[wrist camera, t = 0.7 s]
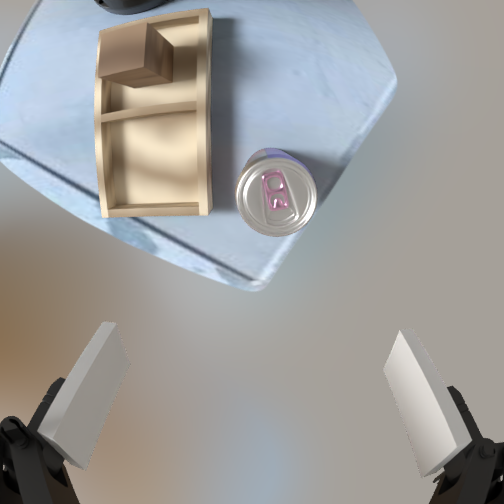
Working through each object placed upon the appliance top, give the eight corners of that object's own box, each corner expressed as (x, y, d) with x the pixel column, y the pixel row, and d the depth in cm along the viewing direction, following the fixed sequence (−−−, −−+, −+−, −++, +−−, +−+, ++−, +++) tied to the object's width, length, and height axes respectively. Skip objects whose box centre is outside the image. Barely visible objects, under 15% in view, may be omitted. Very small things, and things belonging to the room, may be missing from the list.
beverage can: (289, 143, 31) (311, 147, 18) (299, 191, 34) (326, 230, 20) (239, 153, 32) (224, 166, 18) (251, 201, 34) (245, 247, 20)
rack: (111, 37, 25) (99, 31, 22) (212, 18, 25) (208, 8, 22) (113, 210, 35) (102, 217, 32) (212, 208, 35) (208, 215, 32)
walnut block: (136, 53, 26) (101, 34, 18) (173, 46, 26) (147, 21, 18) (134, 88, 28) (97, 77, 20) (172, 82, 28) (143, 67, 20)
